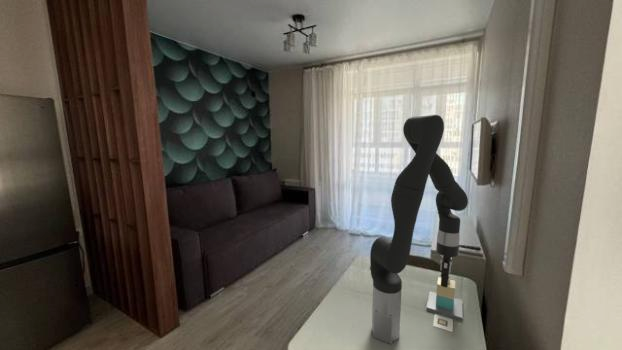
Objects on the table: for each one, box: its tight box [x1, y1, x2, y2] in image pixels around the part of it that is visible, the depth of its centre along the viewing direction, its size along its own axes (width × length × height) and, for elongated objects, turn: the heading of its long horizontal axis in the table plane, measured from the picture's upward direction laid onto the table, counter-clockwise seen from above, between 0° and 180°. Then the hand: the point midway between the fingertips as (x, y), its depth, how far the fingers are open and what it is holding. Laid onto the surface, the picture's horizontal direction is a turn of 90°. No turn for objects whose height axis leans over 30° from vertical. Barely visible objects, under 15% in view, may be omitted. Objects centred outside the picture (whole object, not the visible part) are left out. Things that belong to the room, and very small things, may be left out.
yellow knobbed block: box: [436, 276, 456, 299], centre depth 99 cm, size 6×6×6 cm
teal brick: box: [436, 294, 454, 310], centre depth 99 cm, size 6×6×6 cm
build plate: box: [426, 290, 464, 322], centre depth 100 cm, size 12×12×2 cm
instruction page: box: [432, 313, 454, 333], centre depth 91 cm, size 7×6×1 cm
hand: (444, 281), depth 99 cm, fingers open, 8 cm apart
